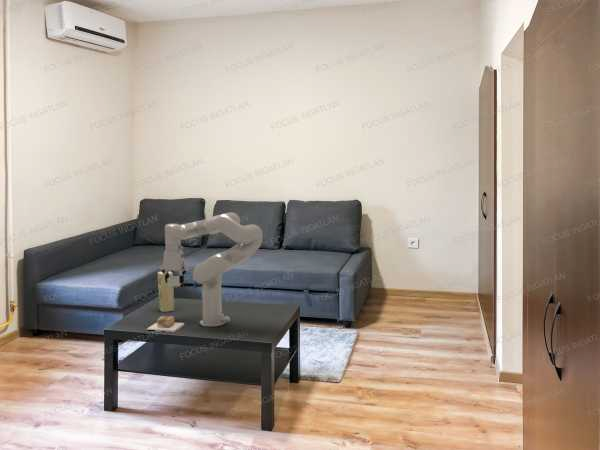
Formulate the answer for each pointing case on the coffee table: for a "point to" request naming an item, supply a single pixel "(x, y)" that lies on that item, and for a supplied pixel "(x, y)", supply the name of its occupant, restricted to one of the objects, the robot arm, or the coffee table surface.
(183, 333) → the coffee table surface
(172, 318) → the oak block
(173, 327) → the baseplate
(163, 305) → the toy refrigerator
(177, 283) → the sage block
